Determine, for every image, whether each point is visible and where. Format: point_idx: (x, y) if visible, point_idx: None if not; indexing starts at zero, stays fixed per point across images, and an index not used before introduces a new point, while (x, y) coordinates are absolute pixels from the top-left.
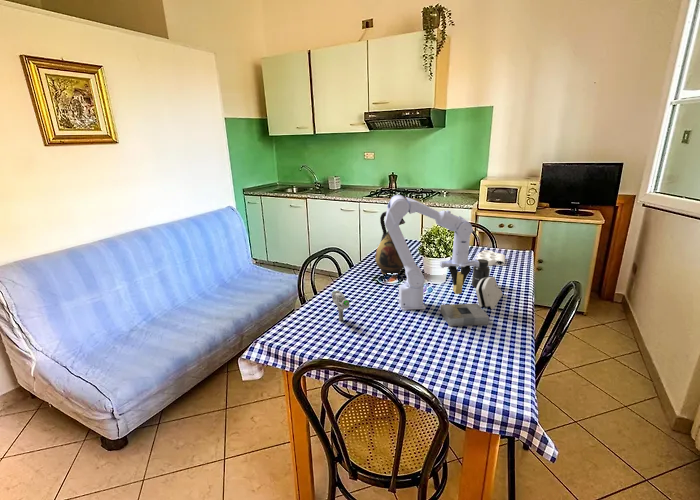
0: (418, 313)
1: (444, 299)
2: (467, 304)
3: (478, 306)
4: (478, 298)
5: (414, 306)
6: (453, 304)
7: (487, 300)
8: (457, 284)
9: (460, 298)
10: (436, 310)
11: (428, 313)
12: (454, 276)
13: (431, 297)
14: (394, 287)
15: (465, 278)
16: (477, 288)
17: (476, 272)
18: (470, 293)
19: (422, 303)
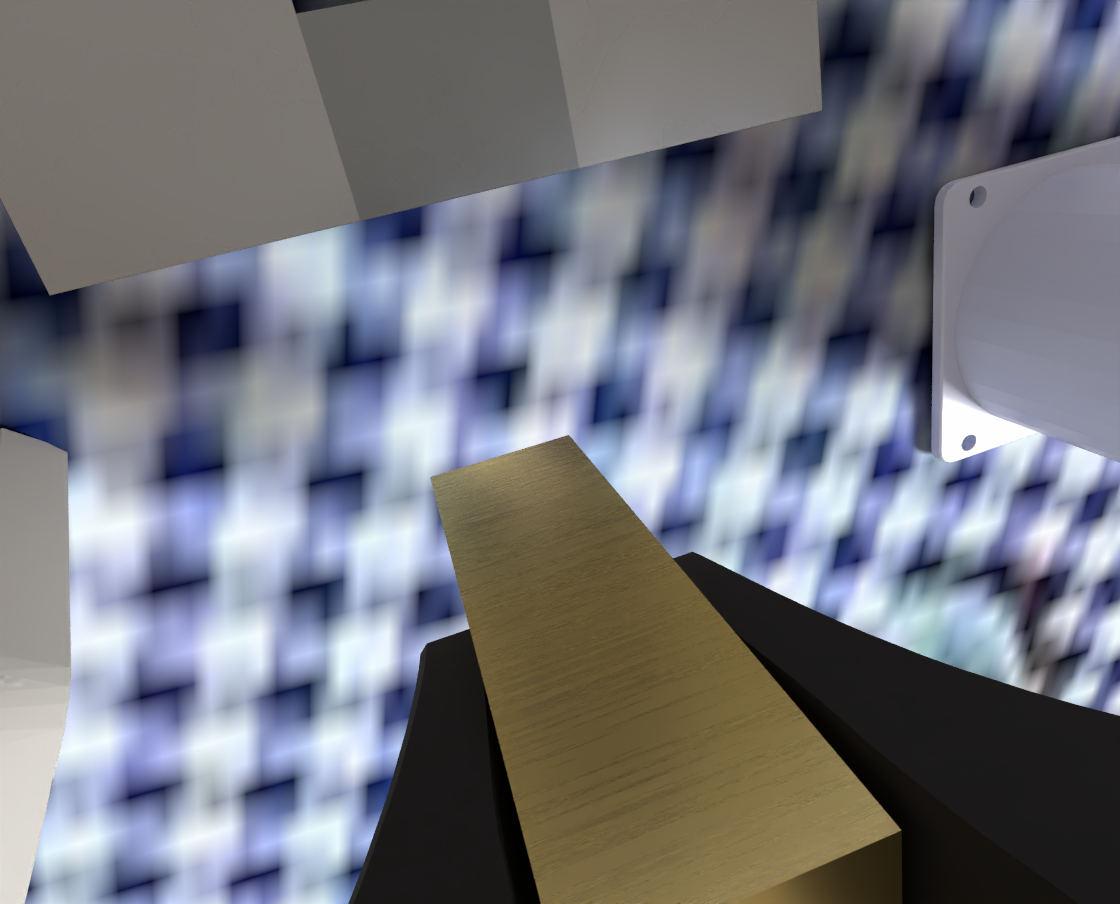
0: (1049, 27)
1: None
2: (290, 197)
3: (2, 108)
4: (42, 543)
5: (1109, 165)
6: (590, 155)
7: None
8: (627, 559)
9: (400, 657)
10: (791, 172)
11: (921, 42)
12: (964, 695)
13: (786, 578)
14: (1103, 703)
15: (393, 820)
16: (6, 752)
17: None
18: (244, 849)
19: (997, 272)
